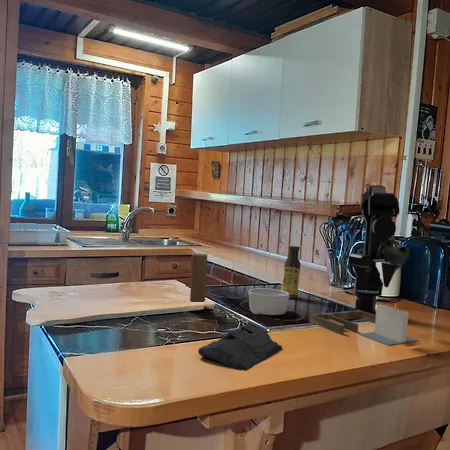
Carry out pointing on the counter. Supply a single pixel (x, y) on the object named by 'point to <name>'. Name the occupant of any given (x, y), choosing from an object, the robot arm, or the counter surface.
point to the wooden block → (198, 277)
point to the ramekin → (268, 301)
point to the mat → (386, 339)
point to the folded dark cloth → (241, 348)
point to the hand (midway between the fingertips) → (375, 288)
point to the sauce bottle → (291, 272)
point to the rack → (341, 320)
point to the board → (391, 323)
